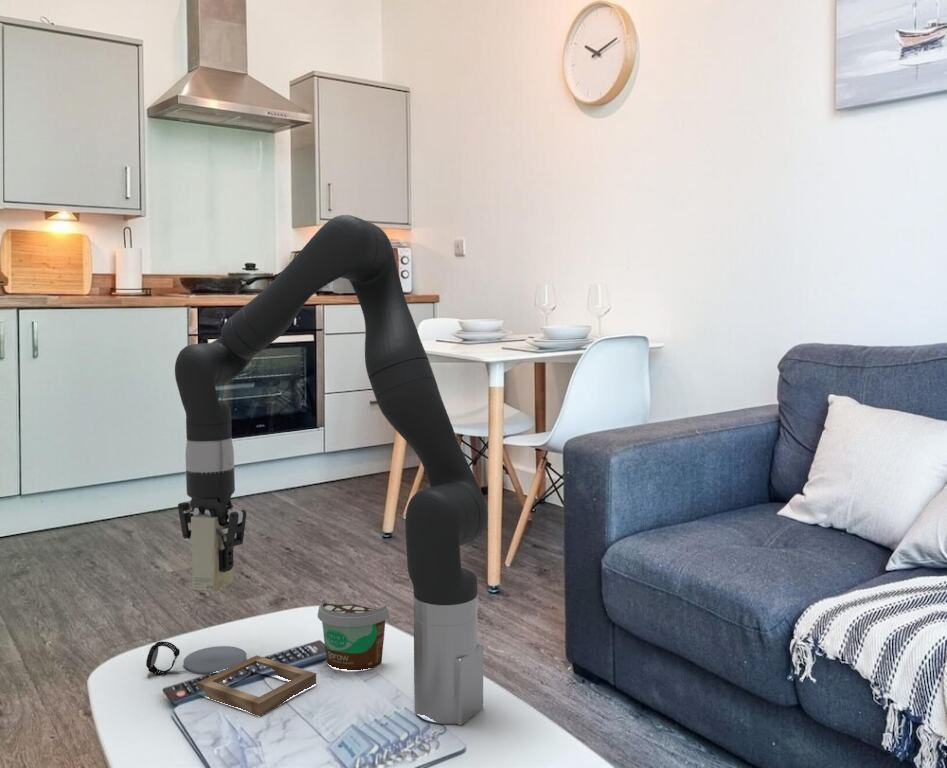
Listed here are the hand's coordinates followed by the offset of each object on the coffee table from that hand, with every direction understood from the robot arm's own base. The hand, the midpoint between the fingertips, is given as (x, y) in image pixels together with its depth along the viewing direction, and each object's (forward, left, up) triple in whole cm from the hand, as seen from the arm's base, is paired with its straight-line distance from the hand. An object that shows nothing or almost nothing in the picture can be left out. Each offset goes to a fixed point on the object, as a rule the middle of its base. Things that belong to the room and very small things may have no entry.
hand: (213, 567), depth 141 cm
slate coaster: (0, 0, -16) cm, 16 cm away
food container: (-20, -10, -16) cm, 27 cm away
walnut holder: (-14, +4, -16) cm, 22 cm away
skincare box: (0, 0, -3) cm, 3 cm away
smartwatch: (+3, +8, -16) cm, 18 cm away
